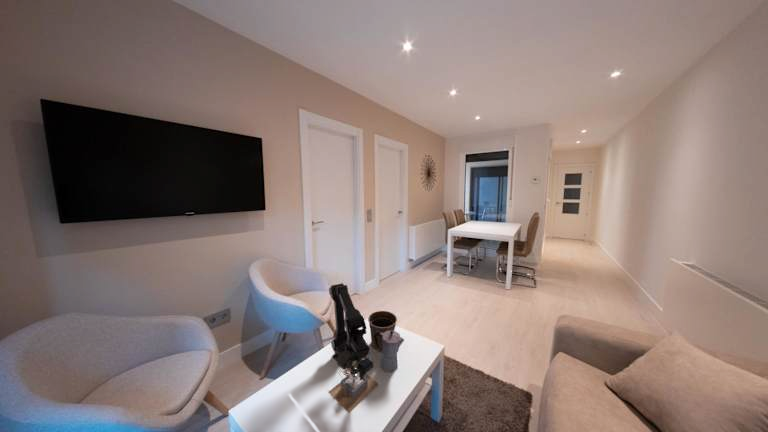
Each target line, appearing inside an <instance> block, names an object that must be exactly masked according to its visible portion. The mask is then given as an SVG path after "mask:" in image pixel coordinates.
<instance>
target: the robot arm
mask: <svg viewBox="0 0 768 432" xmlns="http://www.w3.org/2000/svg"><path fill="white" fill-rule="evenodd" d="M328 292H329V293H328V294H329V296H330V298H331V300H332V301H333V304H334V305H333V307H334V317H335V318H334V319H335V331H334V333H333V340H331V341H330V345H331V348H332V350H333V352H334V353H333V355H331V357H332V359H334V360H335V361H336V363H337V365H338V366H339V368H341V369H342V370H346V369H347V370H350V368H351V366H353V364H354V362H357V363H358V365H356V366H357V369H358V370H357V371H358V372H359V373H360V380H362V379H363V377H364V375H365V374H368V373H369V372H370V371H371V370H372V369H373V368H374V363H375V362H374V361H373V360H372V359H370V358H369V357H367V356H368V355H369V353H370V346H369V345H368V343H367V342H366V340H365V338H364V335H366V334H367V325H366V322H365V317H364V316H363V315H362V314H361V312H360V310H359V309H357V308H355V307H356V306H355V305H354V303H353V301H352V298H351V295H350V293H349V288H348V285H347V284H344V283H343V282H342V283H338V284H332V285H330V287H329V288H328Z"/></svg>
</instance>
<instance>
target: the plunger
mask: <svg viewBox="0 0 768 432" xmlns="http://www.w3.org/2000/svg"><path fill="white" fill-rule="evenodd" d="M357 366H358V365H356V364H354V365H353V364H352V366H351V367H350V368H349V371H350V372H349V373H348V375H349V378H348V379H347V380H346V381H345V383H346V384H347V385H348V386H349V387H351V388H352V389H353V390H354V389H356V388H357V387H358V386H359V385H360V384H361V383H362V382H363V381H364V380H363V379H362V380H360V377H359V372H358V371H357V370H358V369H357Z"/></svg>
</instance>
